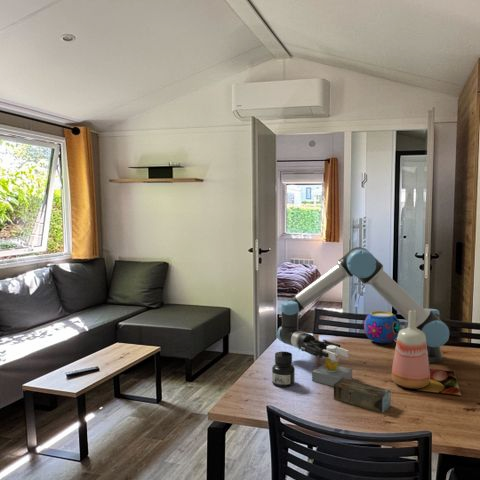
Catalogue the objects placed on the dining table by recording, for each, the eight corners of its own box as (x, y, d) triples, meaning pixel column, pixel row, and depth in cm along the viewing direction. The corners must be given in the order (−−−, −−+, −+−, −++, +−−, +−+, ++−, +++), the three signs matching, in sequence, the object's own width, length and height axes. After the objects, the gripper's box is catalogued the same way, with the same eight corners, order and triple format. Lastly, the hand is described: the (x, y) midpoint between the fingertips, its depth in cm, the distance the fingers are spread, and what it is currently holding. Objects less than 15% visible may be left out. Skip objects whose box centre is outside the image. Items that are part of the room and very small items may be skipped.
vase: (401, 375, 198) (403, 305, 195) (436, 384, 187) (438, 310, 185) (384, 384, 188) (386, 311, 185) (419, 395, 177) (421, 317, 175)
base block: (352, 378, 194) (352, 369, 194) (339, 387, 184) (339, 377, 184) (325, 372, 201) (325, 363, 201) (312, 380, 192) (312, 371, 191)
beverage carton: (382, 414, 162) (382, 395, 161) (332, 399, 174) (332, 382, 173) (391, 406, 168) (391, 388, 168) (342, 393, 180) (342, 376, 180)
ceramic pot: (399, 348, 233) (400, 318, 231) (362, 345, 238) (362, 316, 237) (399, 339, 249) (400, 311, 248) (364, 336, 255) (365, 308, 254)
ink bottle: (267, 384, 189) (267, 354, 188) (279, 377, 196) (279, 349, 195) (288, 389, 183) (288, 359, 182) (299, 382, 190) (299, 353, 189)
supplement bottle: (324, 367, 195) (323, 345, 194) (336, 366, 195) (336, 344, 194) (327, 372, 190) (326, 349, 189) (340, 371, 190) (339, 348, 189)
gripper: (320, 346, 212) (358, 360, 193) (286, 353, 202) (323, 369, 183) (320, 329, 212) (358, 342, 192) (286, 336, 201) (323, 350, 182)
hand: (341, 355), depth 188 cm, fingers open, 6 cm apart
